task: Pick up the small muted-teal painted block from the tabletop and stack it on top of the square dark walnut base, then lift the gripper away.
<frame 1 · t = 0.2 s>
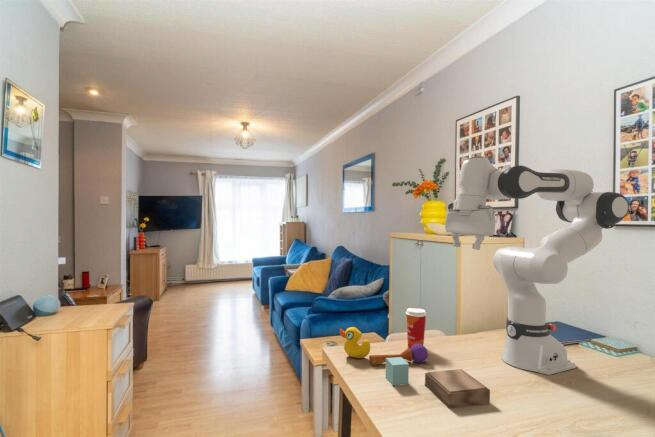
hand: (465, 248, 109), 39 cm above the table, tool pointing down, fingers open, 8 cm apart
walnut base: (455, 393, 92), on the table
kendama: (399, 364, 112), on the table
teal block: (396, 381, 99), on the table
duckling: (354, 357, 116), on the table
paper cup: (415, 348, 126), on the table
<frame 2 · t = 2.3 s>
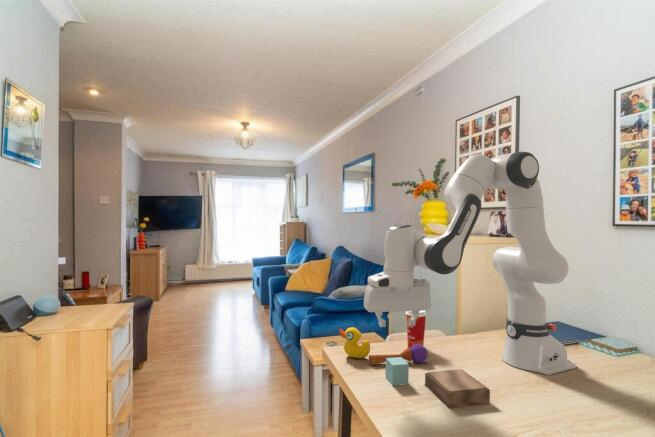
hand: (397, 325, 99), 16 cm above the table, tool pointing down, fingers open, 8 cm apart
nothing on the table moved.
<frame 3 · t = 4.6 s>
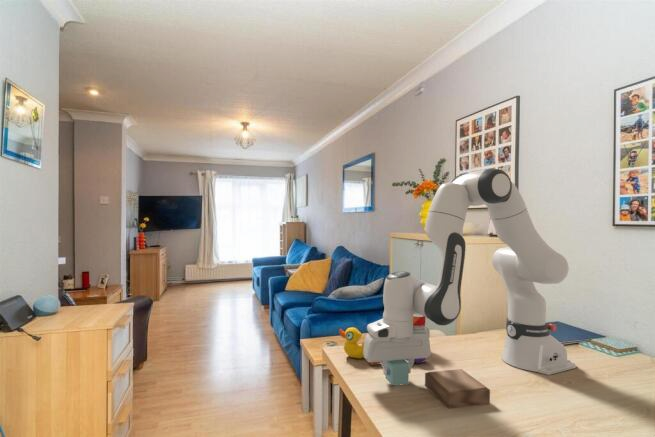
hand: (396, 373, 99), 2 cm above the table, tool pointing down, fingers closed on teal block, 5 cm apart
teal block: (396, 380, 99), on the table, touching gripper
everything else where it was.
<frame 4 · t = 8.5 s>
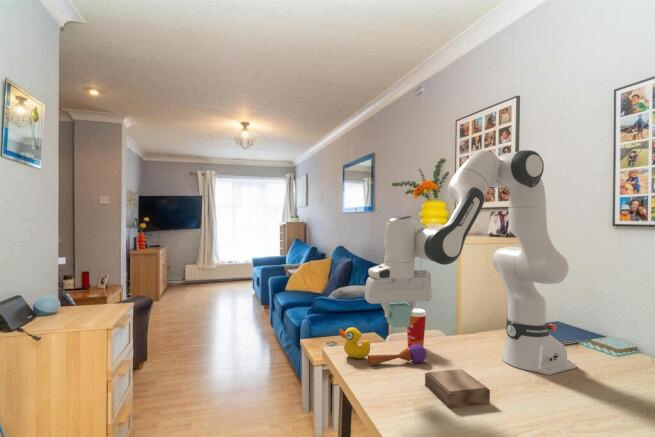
hand: (398, 317, 99), 19 cm above the table, tool pointing down, fingers closed on teal block, 5 cm apart
teal block: (398, 324, 99), point 17 cm above the table, touching gripper
everything else where it was.
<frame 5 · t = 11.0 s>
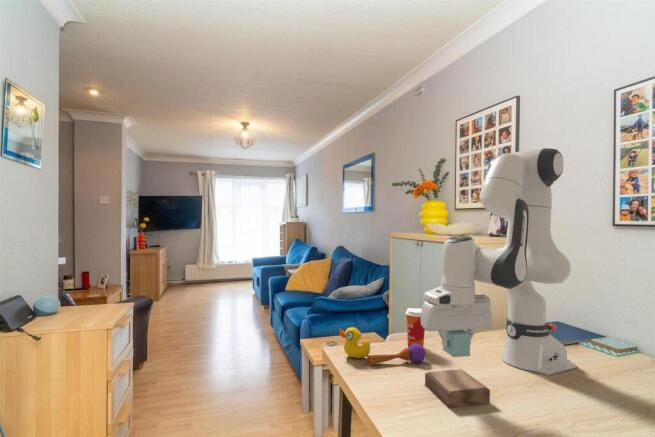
hand: (456, 345, 92), 13 cm above the table, tool pointing down, fingers closed on teal block, 5 cm apart
teal block: (456, 352, 92), point 11 cm above the table, touching gripper
everything else where it was.
when the fingers open (8 cm above the table, at t = 12.8 s): teal block drops 1 cm, resting on walnut base.
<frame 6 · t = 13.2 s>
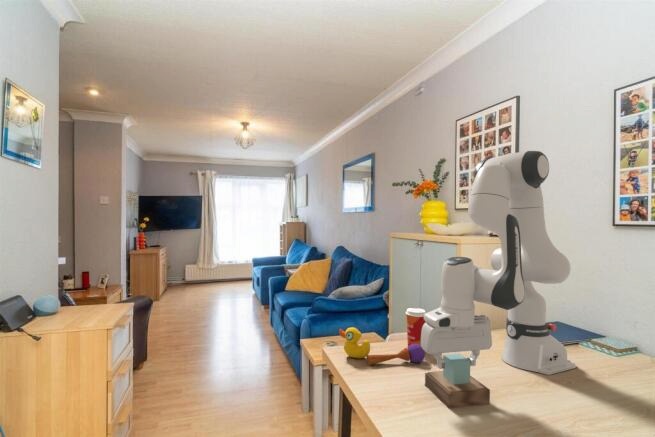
hand: (456, 366, 92), 8 cm above the table, tool pointing down, fingers open, 8 cm apart
teal block: (456, 379, 92), point 4 cm above the table, touching walnut base
everything else where it was.
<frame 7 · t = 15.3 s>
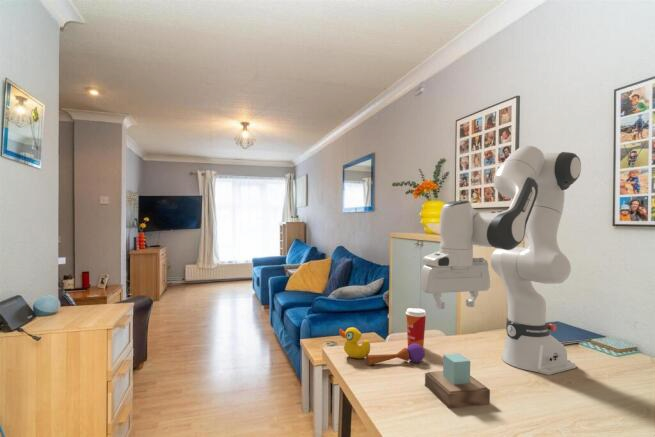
hand: (455, 307, 94), 23 cm above the table, tool pointing down, fingers open, 8 cm apart
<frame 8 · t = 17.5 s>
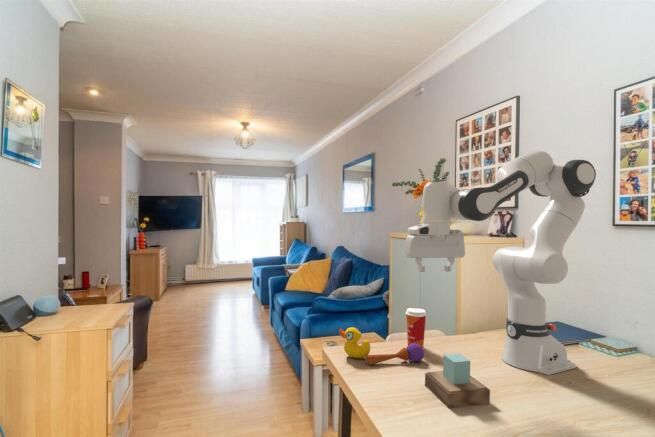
hand: (434, 271, 110), 31 cm above the table, tool pointing down, fingers open, 8 cm apart
at the end: teal block inside the target area on the walnut base (0.1 cm from its centre), point 4.0 cm above the walnut base's base; teal block tilted 0°; the gripper is holding nothing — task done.
